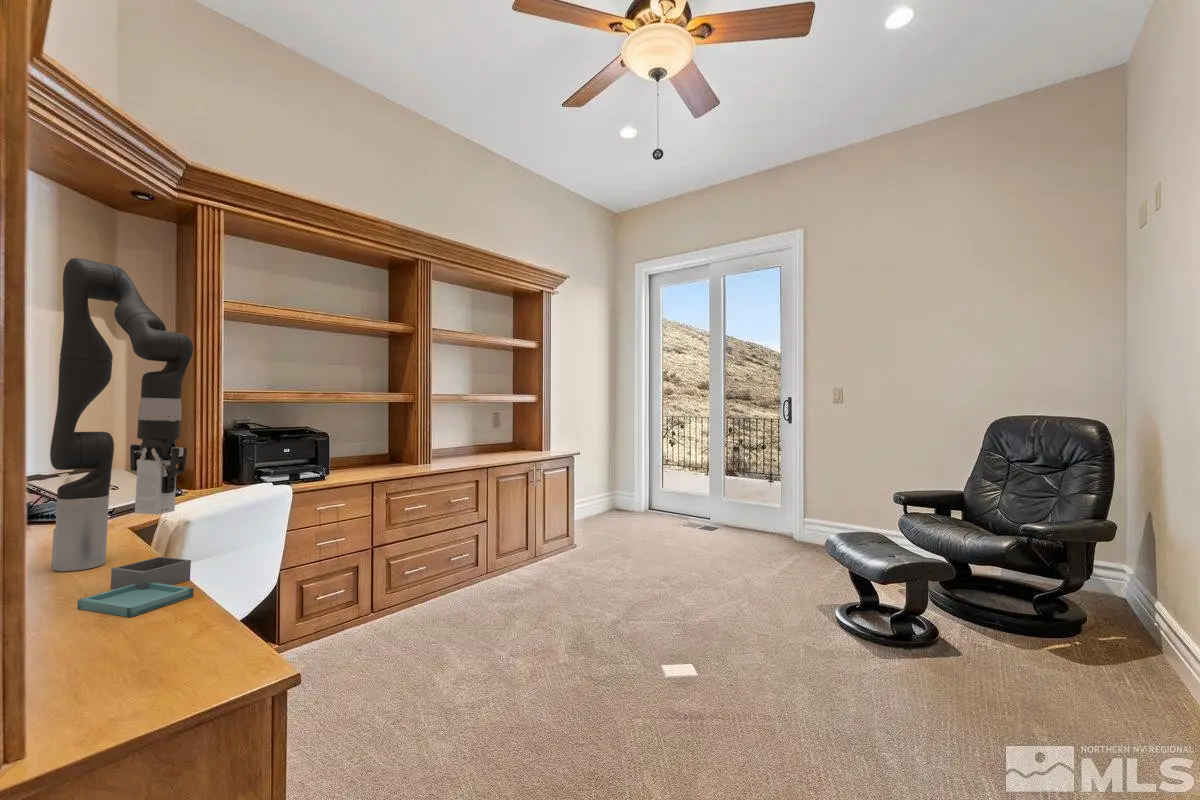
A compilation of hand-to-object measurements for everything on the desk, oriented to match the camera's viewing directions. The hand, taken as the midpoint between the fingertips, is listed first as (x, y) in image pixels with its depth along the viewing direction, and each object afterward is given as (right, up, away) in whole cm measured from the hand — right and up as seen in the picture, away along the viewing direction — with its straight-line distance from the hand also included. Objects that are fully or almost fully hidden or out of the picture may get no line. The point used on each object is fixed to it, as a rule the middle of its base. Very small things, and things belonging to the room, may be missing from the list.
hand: (156, 491), depth 119 cm
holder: (-1, -21, -1) cm, 21 cm away
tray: (+6, -21, -12) cm, 24 cm away
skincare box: (0, -5, 0) cm, 5 cm away
